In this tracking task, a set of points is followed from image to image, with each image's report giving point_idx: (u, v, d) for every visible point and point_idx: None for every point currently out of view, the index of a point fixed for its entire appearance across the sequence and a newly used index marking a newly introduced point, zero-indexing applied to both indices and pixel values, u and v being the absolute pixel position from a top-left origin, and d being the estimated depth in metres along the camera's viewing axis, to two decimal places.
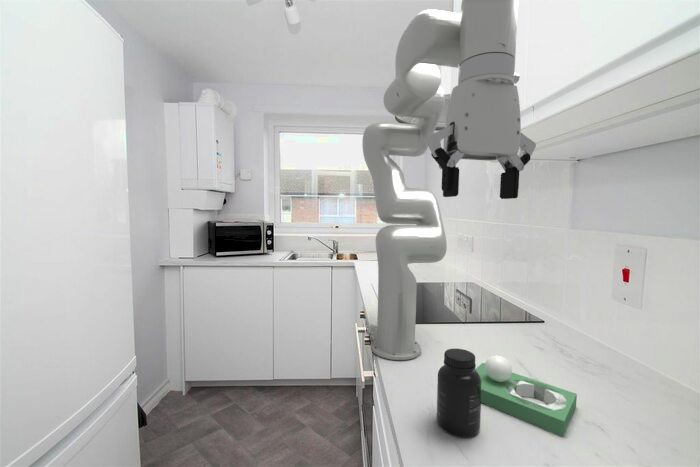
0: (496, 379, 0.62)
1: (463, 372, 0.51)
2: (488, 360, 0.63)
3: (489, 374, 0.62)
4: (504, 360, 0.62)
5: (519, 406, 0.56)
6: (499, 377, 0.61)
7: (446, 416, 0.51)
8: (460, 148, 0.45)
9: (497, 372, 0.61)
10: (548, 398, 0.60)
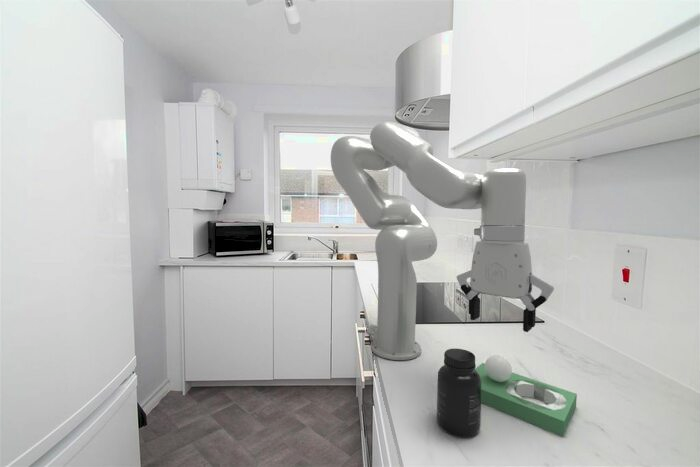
0: (496, 379, 0.62)
1: (463, 372, 0.51)
2: (488, 360, 0.63)
3: (489, 374, 0.62)
4: (504, 360, 0.62)
5: (519, 406, 0.56)
6: (499, 377, 0.61)
7: (446, 416, 0.51)
8: None
9: (497, 372, 0.61)
10: (548, 398, 0.60)
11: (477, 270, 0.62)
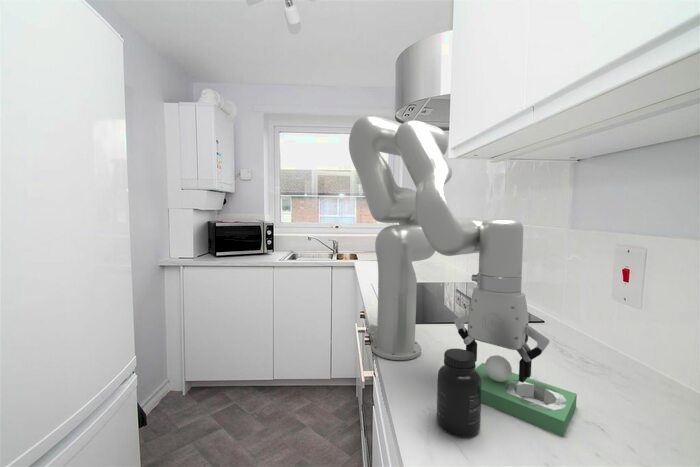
0: (496, 379, 0.62)
1: (463, 372, 0.51)
2: (488, 360, 0.63)
3: (489, 374, 0.62)
4: (504, 360, 0.62)
5: (519, 406, 0.56)
6: (499, 377, 0.61)
7: (446, 416, 0.51)
8: None
9: (497, 372, 0.61)
10: (548, 398, 0.60)
11: (474, 317, 0.63)
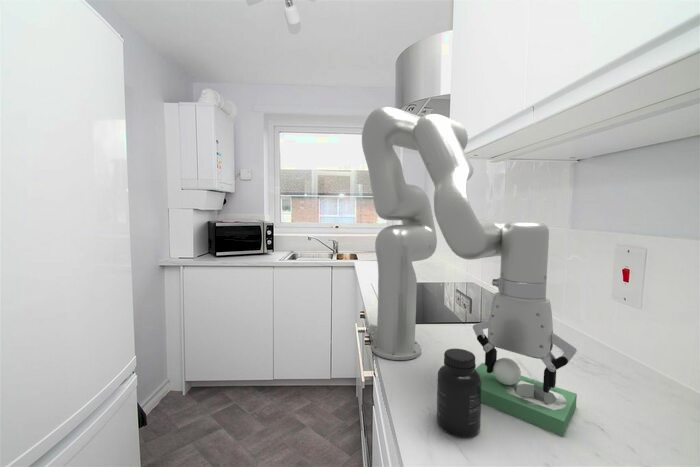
0: (500, 380, 0.61)
1: (463, 372, 0.51)
2: (503, 362, 0.61)
3: (496, 373, 0.61)
4: (518, 370, 0.60)
5: (519, 406, 0.56)
6: (504, 381, 0.60)
7: (446, 416, 0.51)
8: None
9: (505, 377, 0.60)
10: (548, 398, 0.60)
11: (496, 324, 0.60)
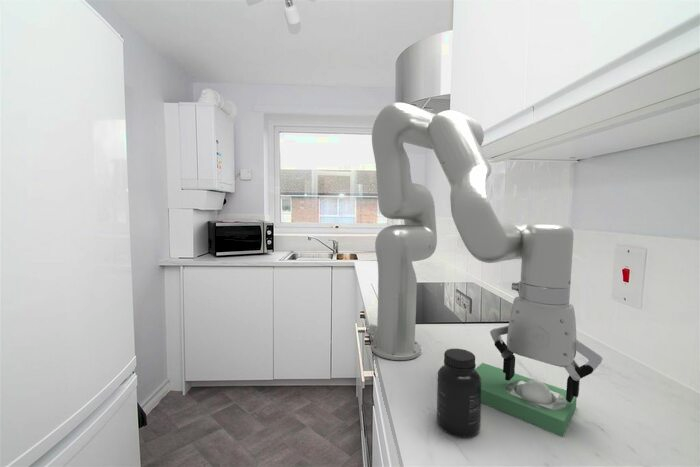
0: (531, 390, 0.57)
1: (463, 372, 0.51)
2: None
3: (539, 397, 0.56)
4: None
5: (519, 406, 0.56)
6: (527, 393, 0.58)
7: (446, 416, 0.51)
8: None
9: (529, 399, 0.57)
10: None
11: (516, 330, 0.58)
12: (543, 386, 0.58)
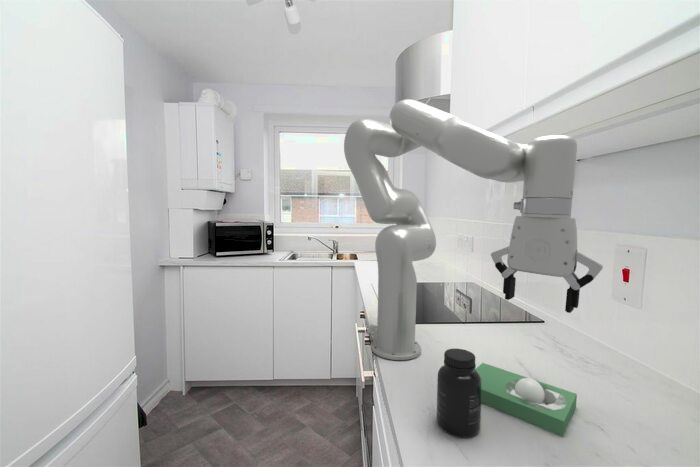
0: (521, 388, 0.59)
1: (463, 372, 0.51)
2: (539, 403, 0.57)
3: (529, 392, 0.58)
4: None
5: (519, 406, 0.56)
6: (519, 393, 0.59)
7: (446, 416, 0.51)
8: None
9: None
10: (548, 398, 0.60)
11: (517, 246, 0.58)
12: (529, 380, 0.59)
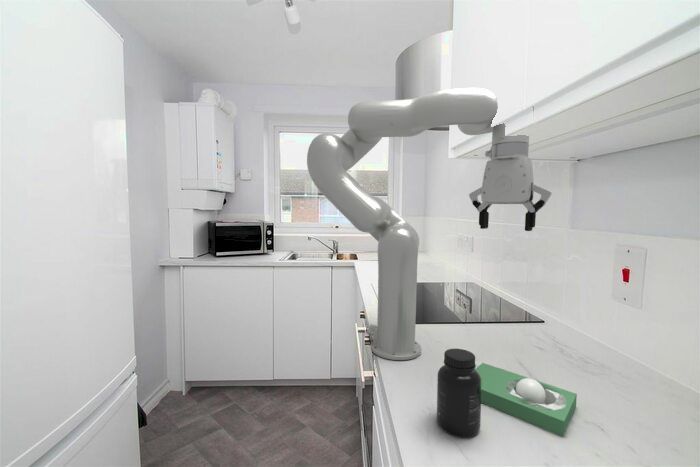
0: (522, 388, 0.58)
1: (463, 372, 0.51)
2: None
3: (530, 392, 0.57)
4: None
5: (519, 406, 0.56)
6: (520, 393, 0.59)
7: (446, 416, 0.51)
8: None
9: (523, 398, 0.58)
10: (548, 398, 0.60)
11: (488, 184, 0.74)
12: (531, 381, 0.59)
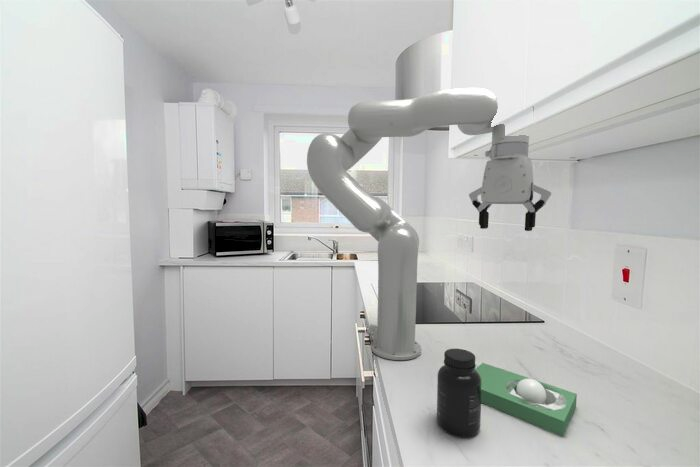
0: (523, 389, 0.58)
1: (463, 372, 0.51)
2: None
3: (531, 393, 0.57)
4: None
5: (519, 406, 0.56)
6: (521, 393, 0.58)
7: (446, 416, 0.51)
8: None
9: (524, 398, 0.58)
10: (548, 398, 0.60)
11: (487, 184, 0.74)
12: (533, 381, 0.59)
